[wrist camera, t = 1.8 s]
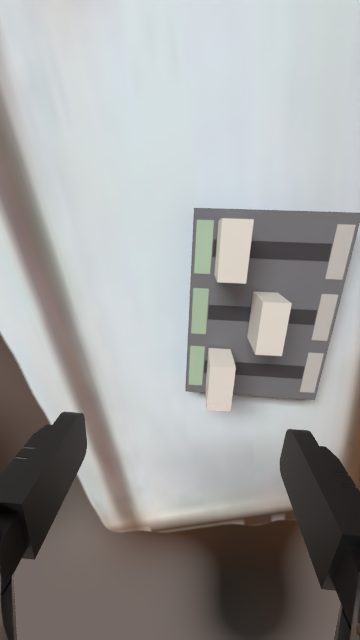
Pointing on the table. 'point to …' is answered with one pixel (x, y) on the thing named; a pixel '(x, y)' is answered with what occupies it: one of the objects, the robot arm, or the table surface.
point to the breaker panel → (270, 276)
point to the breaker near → (233, 250)
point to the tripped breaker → (268, 323)
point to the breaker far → (220, 379)
